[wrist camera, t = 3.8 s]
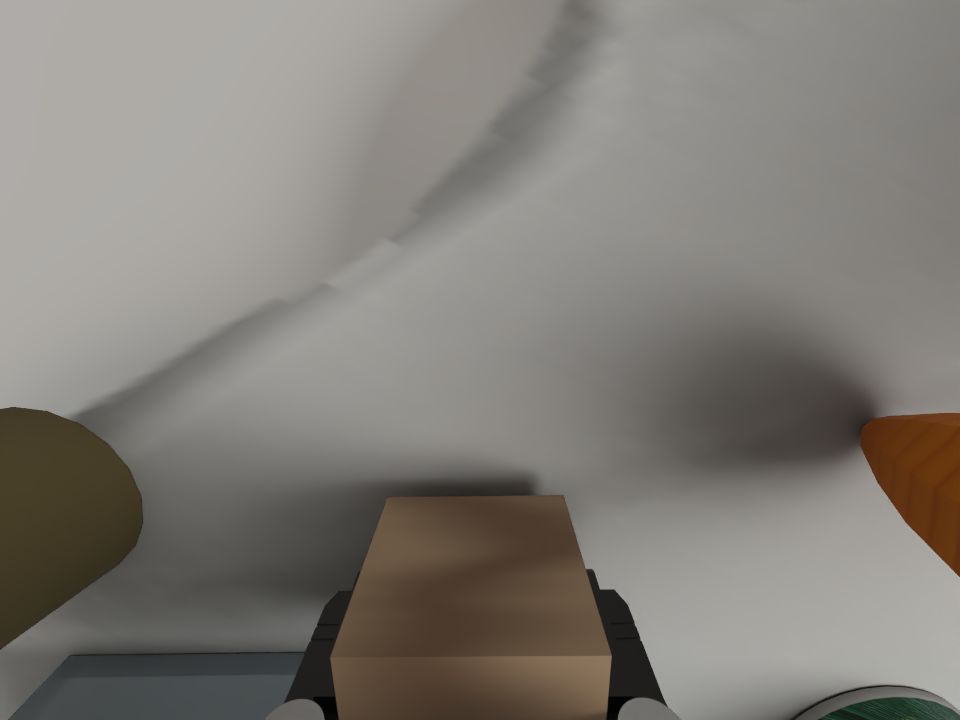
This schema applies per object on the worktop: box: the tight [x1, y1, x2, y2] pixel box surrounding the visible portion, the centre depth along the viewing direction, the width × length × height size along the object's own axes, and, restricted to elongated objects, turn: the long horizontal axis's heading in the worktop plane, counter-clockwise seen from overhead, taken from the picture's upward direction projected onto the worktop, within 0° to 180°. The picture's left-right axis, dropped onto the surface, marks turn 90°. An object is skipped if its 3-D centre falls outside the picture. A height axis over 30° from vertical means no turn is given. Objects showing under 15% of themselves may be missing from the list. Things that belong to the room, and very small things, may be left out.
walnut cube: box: [330, 495, 612, 720], centre depth 11 cm, size 5×5×5 cm
